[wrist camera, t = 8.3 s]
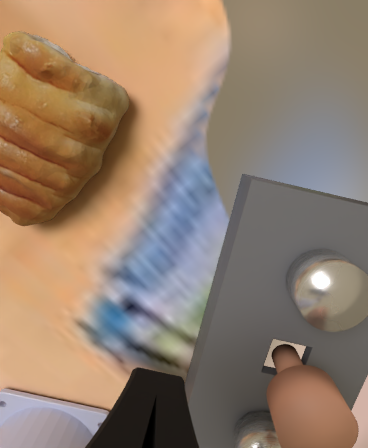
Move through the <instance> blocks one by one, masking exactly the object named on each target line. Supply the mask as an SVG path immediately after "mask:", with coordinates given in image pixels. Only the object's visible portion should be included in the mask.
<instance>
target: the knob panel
mask: <svg viewBox="0 0 368 448" xmlns="http://www.w3.org/2000/svg"><path fill="white" fill-rule="evenodd" d="M314 249H330V250H333V251H335V252H338V253H339V254H341V255H342V256H344V257H345V258H346V259H348V260H349V261H350V262H352V263H353V264H354V265H356V266H357V267H358V268H360V269H361V270H362V271H364V272H365V273H366V274H367V275H368V203H367V202H362V201H358V200H354V199H349V198H345V197H340V196H336V195H332V194H328V193H323V192H319V191H315V190H310V189H306V188H302V187H298V186H293V185H289V184H284V183H280V182H276V181H272V180H268V179H263V178H258V177H255V176H250V175H246V174H242V177H241V181H240V184H239V188H238V192H237V195H236V199H235V203H234V207H233V210H232V214H231V217H230V221H229V225H228V228H227V232H226V235H225V239H224V243H223V246H222V250H221V254H220V257H219V261H218V265H217V268H216V272H215V276H214V279H213V283H212V287H211V290H210V294H209V298H208V301H207V305H206V309H205V312H204V316H203V320H202V323H201V327H200V331H199V334H198V338H197V342H196V345H195V349H194V353H193V356H192V360H191V364H190V367H189V371H188V375H187V378H186V382H185V391H186V397H187V402H188V407H189V411H190V415H191V419H192V423H193V427H194V431H195V435H196V438H197V442H198V445H199V448H235V444H234V436H233V431H234V427H235V425H236V423H237V422H238V421H239V420H240V419H241V418H242V417H243V416H245V415H246V414H247V412H250V413H252V412H257V411H266V412H270V409H269V406H268V402H267V397H266V393H267V388H268V385H269V383H270V381H271V380H272V379H273V377H274V376H275V375H276V374H278V373H277V371H276V368H271V367H267V366H263V365H264V362H265V360H266V357H267V354H268V351H269V348H270V345H271V342H272V340H273V339H277V340H281V341H286V342H290V343H295V344H299V345H304V346H306V349H305V351H304V354H303V356H302V359H301V361H302V363H303V365H310V366H314V367H317V368H320V369H322V370H323V371H325V372H326V373H327V374H328V375H329V376H330V377H331V378H332V380H333V381H334V383H335V385H336V386H337V388H338V390H339V392H340V393H341V395H342V397H343V398H344V400H345V402H346V404H347V405H348V407H349V409H350V410H352V408H353V405H354V403H355V401H356V399H357V397H358V394H359V392H360V390H361V388H362V386H363V383H364V381H365V379H366V377H367V375H368V316H367V317H366V318H365V319H364V320H363V321H362V322H360V323H359V324H358V325H356V326H354V327H352V328H350V329H347V330H344V331H337V332H329V331H323V330H320V329H318V328H315V327H314V326H312V325H311V324H309V323H308V322H307V321H306V320H305V318H304V317H303V315H302V314H301V312H300V310H299V309H298V307H297V306H296V304H295V303H294V301H293V299H292V298H291V296H290V295H289V293H288V291H287V287H286V275H287V271H288V269H289V267H290V265H291V264H292V263H293V261H294V260H295V259H296V258H298V257H299V256H300V255H302V254H303V253H305V252H307V251H310V250H314Z"/></svg>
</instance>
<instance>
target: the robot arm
mask: <svg viewBox="0 0 368 448" xmlns="http://www.w3.org/2000/svg"><path fill="white" fill-rule="evenodd" d="M101 422H102V423H101ZM0 448H199V445H198V442H197V438H196V435H195V431H194V427H193V423H192V419H191V415H190V411H189V407H188V402H187V397H186V391H185V385H184V380H183V379H182V377H180V376H175V375H170V374H166V373H161V372H157V371H152V370H148V369H143V368H138V367H137V368H135V369H134V370H133V371H132V373H131V376H130V378H129V380H128V382H127V384H126V386H125V388H124V390H123V391H122V393H121V395H120V397H119V398H118V400H117V401H116V403H115V405H114V406H113V408H112V410H111V411H110V413H109V412H108V411H107V410H103V409H99V408H94V407H89V406H85V405H80V404H75V403H71V402H66V401H62V400H57V399H52V398H48V397H43V396H38V395H34V394H29V393H24V392H20V391H15V390H11V389H2V390H1V391H0Z"/></svg>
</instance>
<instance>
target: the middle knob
mask: <svg viewBox="0 0 368 448" xmlns="http://www.w3.org/2000/svg"><path fill="white" fill-rule="evenodd" d="M272 359H273V362H274V365H275V367H276V371H277V373H278V374H276V375H275V376H274V377H273V379H272V380H271V381H270V383H269V385H268V388H267V393H266V397H267V402H268V406H269V409H270V413H271V416H272V420H273V423H274V427H275V431H276V434H277V438H278V441H279V444H280V446H281V448H352V447H353V446H354V444H355V442H356V440H357V437H358V424H357V421H356V419H355V417H354V415H353V414H352V412H351V410H350V409H349V407H348V405H347V404H346V402H345V400H344V398H343V397H342V395H341V393H340V392H339V390H338V388H337V386H336V385H335V383H334V381H333V380H332V378H331V377H330V376H329V375H328V374H327V373H326V372H325V371H323V370H322V369H320V368H317V367H314V366H310V365H303V363H302V361H301V359H300V357H299V355H298V353H297V351H296V349H295V348H294V347H293V346H291V345H288V344H283V345H279V346H277V347H276V348H275V349H274V350H273V352H272Z"/></svg>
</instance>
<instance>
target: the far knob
mask: <svg viewBox="0 0 368 448" xmlns="http://www.w3.org/2000/svg"><path fill="white" fill-rule="evenodd" d="M233 436H234V444H235V448H281V446H280V444H279V441H278V438H277V434H276V431H275V427H274V423H273V420H272V416H271V413H270V412H266V411H257V412H252V413H250V412H247V414H246V415H245V416H243V417H242V418H241V419H240V420H239V421H238V422H237V423H236V425H235V427H234V431H233Z"/></svg>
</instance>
